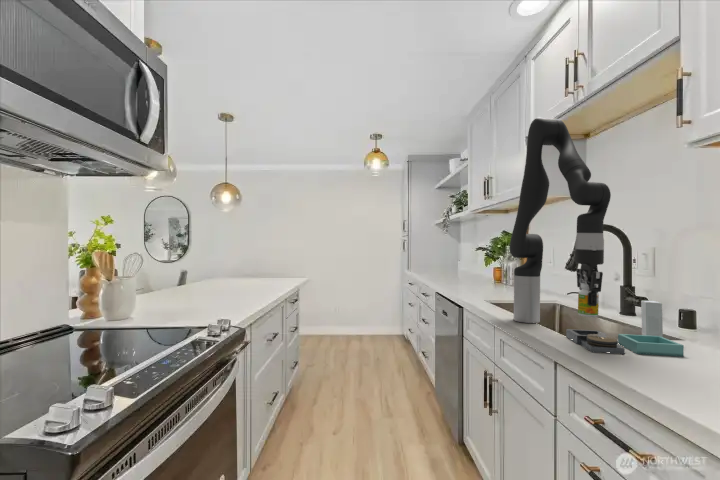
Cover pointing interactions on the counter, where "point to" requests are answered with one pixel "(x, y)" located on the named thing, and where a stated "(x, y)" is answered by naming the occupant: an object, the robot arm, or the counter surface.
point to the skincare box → (651, 318)
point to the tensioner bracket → (595, 341)
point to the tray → (651, 345)
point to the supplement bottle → (586, 303)
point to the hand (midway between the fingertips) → (588, 303)
